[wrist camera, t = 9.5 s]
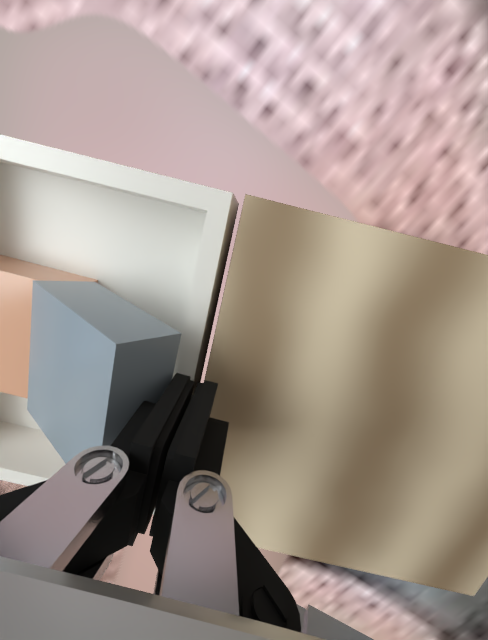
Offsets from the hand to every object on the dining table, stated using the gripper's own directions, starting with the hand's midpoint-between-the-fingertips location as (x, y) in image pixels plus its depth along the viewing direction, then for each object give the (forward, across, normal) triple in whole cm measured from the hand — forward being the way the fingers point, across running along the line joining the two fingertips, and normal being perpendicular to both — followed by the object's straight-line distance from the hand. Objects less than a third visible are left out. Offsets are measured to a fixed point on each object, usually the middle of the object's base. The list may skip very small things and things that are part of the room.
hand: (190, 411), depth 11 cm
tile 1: (+2, +3, 0) cm, 4 cm away
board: (+5, -8, 0) cm, 10 cm away
